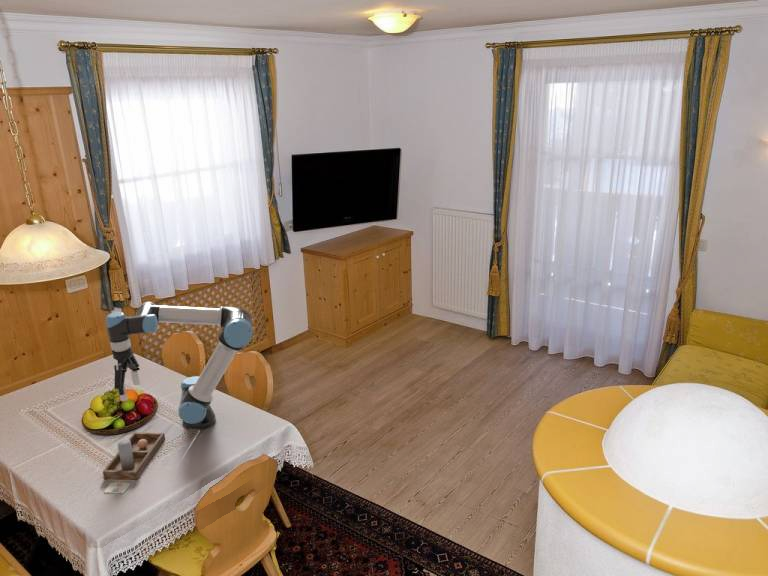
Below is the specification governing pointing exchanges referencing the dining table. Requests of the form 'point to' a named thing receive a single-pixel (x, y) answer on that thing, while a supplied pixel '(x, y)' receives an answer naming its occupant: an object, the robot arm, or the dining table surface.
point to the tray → (135, 457)
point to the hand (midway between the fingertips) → (130, 392)
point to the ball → (142, 443)
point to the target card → (117, 488)
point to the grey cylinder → (126, 455)
